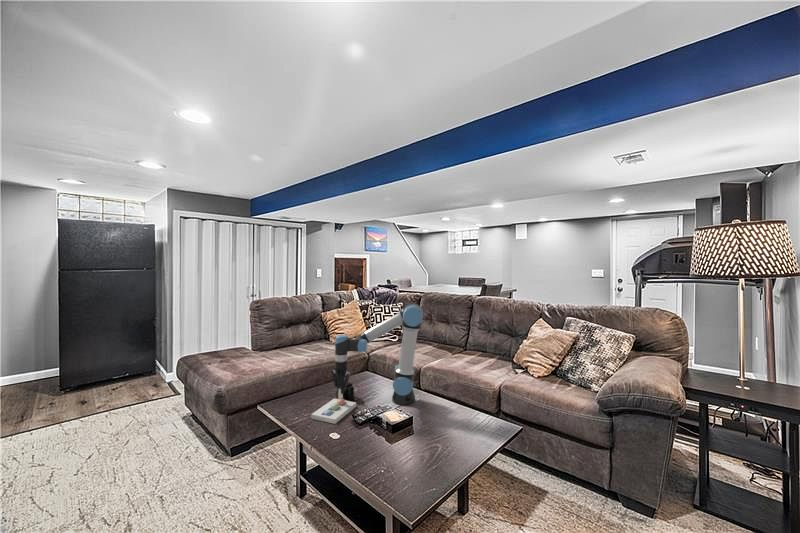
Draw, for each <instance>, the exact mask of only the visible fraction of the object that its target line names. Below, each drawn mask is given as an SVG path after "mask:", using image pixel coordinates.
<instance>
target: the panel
mask: <svg viewBox="0 0 800 533" xmlns="http://www.w3.org/2000/svg"><path fill="white" fill-rule="evenodd" d="M337 400H338V399H337V398H333V399H331V400H330V401H328V402H327V403H325V404H324V405H323V406H321V407H320V408H319V409H317V410H316V411H313V412H312V413H311V415H310V417H311V418H310V419H312V420H316V421H320V422H325V423H329V424H337V423H338V422H339V421H340V420H342V419H343V418H344V417H345V416H346V415H348V414H349V413H350V412H352V411H353V410H354V409H355V408H357V402H354V401H353V402H351V401H348V400H345V405H344V406H339V409H338V410H337V411H333V410H332V415H331V416H326V415H324V411H325V410H331V404H333V403H337Z"/></svg>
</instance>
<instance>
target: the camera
mask: <svg viewBox="0 0 800 533" xmlns="http://www.w3.org/2000/svg"><path fill="white" fill-rule="evenodd" d="M354 390H355V388H354V386H353V383H352V382H348V384H347V387H346V388H344V393H343V398H342V399H345V400H346V401H351V402H354V401H355V391H354ZM335 397H336V398H335V399H338V392H337V390H336V391H335Z"/></svg>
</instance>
